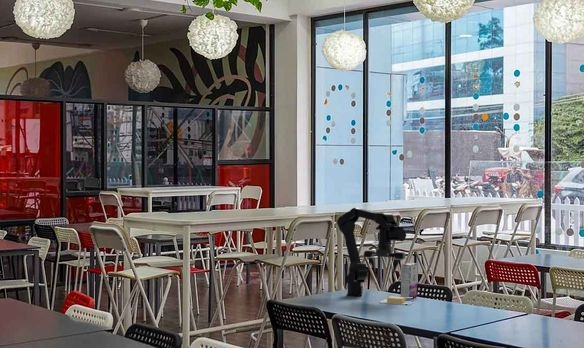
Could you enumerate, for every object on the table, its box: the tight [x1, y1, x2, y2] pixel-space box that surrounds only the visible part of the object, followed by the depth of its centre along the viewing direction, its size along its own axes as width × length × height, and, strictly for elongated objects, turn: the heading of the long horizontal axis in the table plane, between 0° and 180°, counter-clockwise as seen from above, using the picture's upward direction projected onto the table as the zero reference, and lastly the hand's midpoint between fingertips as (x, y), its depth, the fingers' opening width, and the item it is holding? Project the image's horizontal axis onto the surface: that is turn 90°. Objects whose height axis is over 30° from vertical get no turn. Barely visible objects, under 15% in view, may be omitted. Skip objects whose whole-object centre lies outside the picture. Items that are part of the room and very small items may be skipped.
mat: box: [379, 296, 412, 306], centre depth 399 cm, size 14×14×2 cm
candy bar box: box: [400, 262, 418, 298], centre depth 418 cm, size 11×5×16 cm, turn 154°
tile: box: [386, 295, 406, 303], centre depth 397 cm, size 7×2×7 cm
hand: (383, 273), depth 407 cm, fingers open, 9 cm apart
